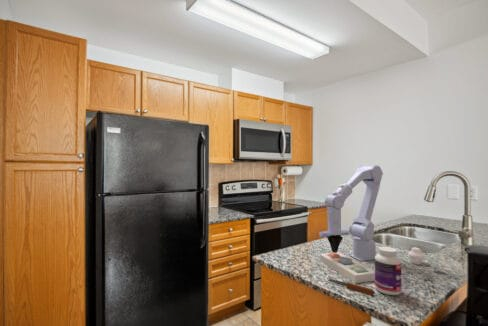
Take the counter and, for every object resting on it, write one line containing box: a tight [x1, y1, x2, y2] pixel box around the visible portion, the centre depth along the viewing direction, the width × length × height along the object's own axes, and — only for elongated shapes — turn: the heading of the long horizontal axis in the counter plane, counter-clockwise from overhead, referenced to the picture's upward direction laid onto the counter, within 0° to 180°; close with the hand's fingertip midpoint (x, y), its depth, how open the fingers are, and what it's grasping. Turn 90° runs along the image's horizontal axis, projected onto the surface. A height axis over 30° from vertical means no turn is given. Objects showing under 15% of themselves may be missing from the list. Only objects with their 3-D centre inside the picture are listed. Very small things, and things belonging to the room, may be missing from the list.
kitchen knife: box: [327, 278, 375, 296], centre depth 91 cm, size 16×1×2 cm, turn 51°
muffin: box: [407, 246, 426, 265], centre depth 115 cm, size 6×6×7 cm
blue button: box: [340, 257, 353, 265], centre depth 108 cm, size 4×4×2 cm
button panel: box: [319, 251, 375, 284], centre depth 108 cm, size 10×24×3 cm, turn 15°
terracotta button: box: [329, 252, 340, 259], centre depth 115 cm, size 4×4×2 cm
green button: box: [353, 266, 365, 273], centre depth 100 cm, size 4×4×2 cm
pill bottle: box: [374, 246, 403, 296], centre depth 89 cm, size 8×8×14 cm
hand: (334, 252), depth 115 cm, fingers closed
